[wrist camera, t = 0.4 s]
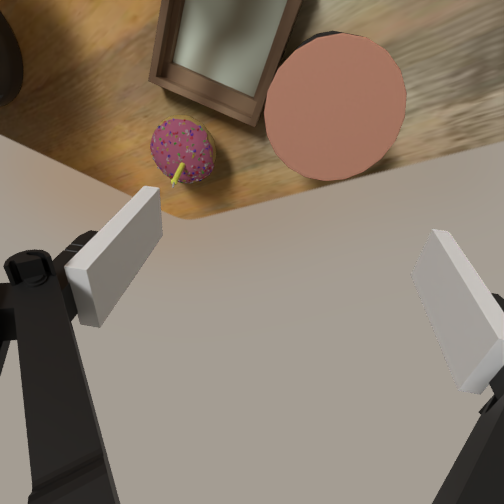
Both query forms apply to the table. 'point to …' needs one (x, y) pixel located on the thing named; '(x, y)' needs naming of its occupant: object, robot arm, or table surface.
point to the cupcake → (183, 149)
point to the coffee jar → (335, 106)
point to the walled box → (222, 51)
